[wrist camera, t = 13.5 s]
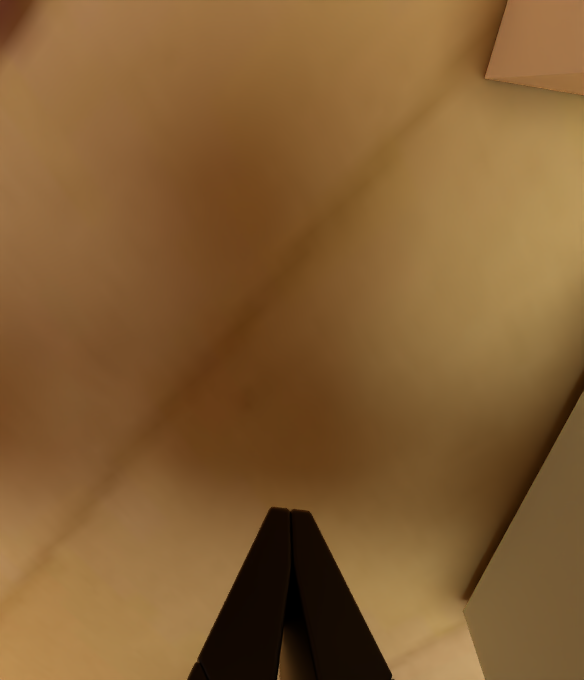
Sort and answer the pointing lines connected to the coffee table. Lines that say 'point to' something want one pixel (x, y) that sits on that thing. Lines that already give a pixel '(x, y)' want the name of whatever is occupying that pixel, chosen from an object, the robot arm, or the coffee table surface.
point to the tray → (538, 575)
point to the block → (541, 45)
